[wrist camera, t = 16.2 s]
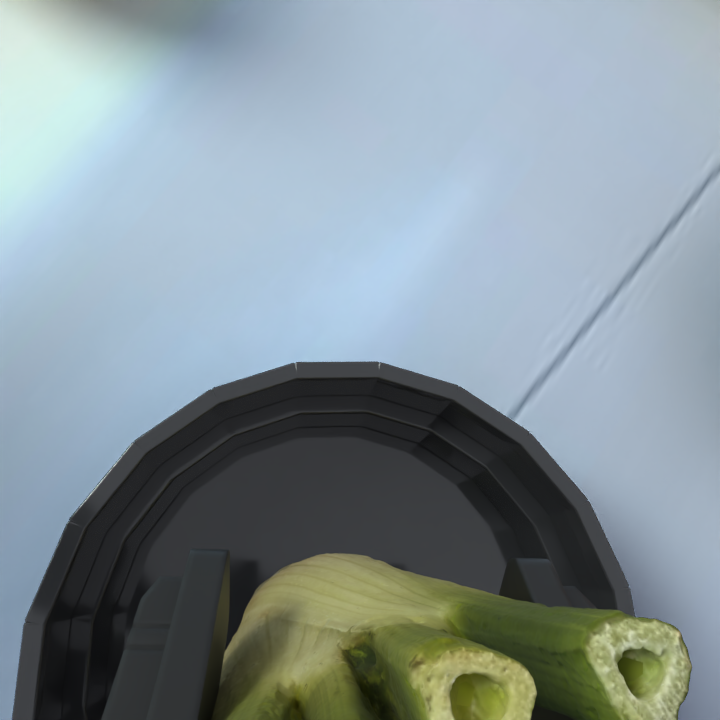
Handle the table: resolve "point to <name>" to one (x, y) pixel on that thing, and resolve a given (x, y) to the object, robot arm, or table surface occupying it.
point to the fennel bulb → (438, 652)
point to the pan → (302, 510)
